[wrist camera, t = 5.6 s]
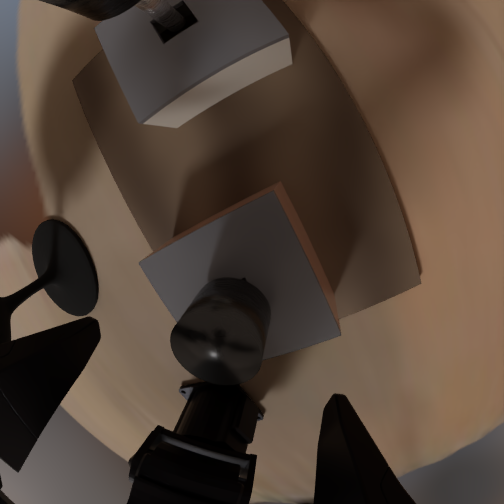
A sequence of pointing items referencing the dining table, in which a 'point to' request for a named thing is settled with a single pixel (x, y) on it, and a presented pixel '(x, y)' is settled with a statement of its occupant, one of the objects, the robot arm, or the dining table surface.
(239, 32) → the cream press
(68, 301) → the wine glass
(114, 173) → the walnut board
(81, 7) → the black plunger
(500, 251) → the dining table surface
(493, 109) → the dining table surface
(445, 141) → the dining table surface
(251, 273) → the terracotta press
